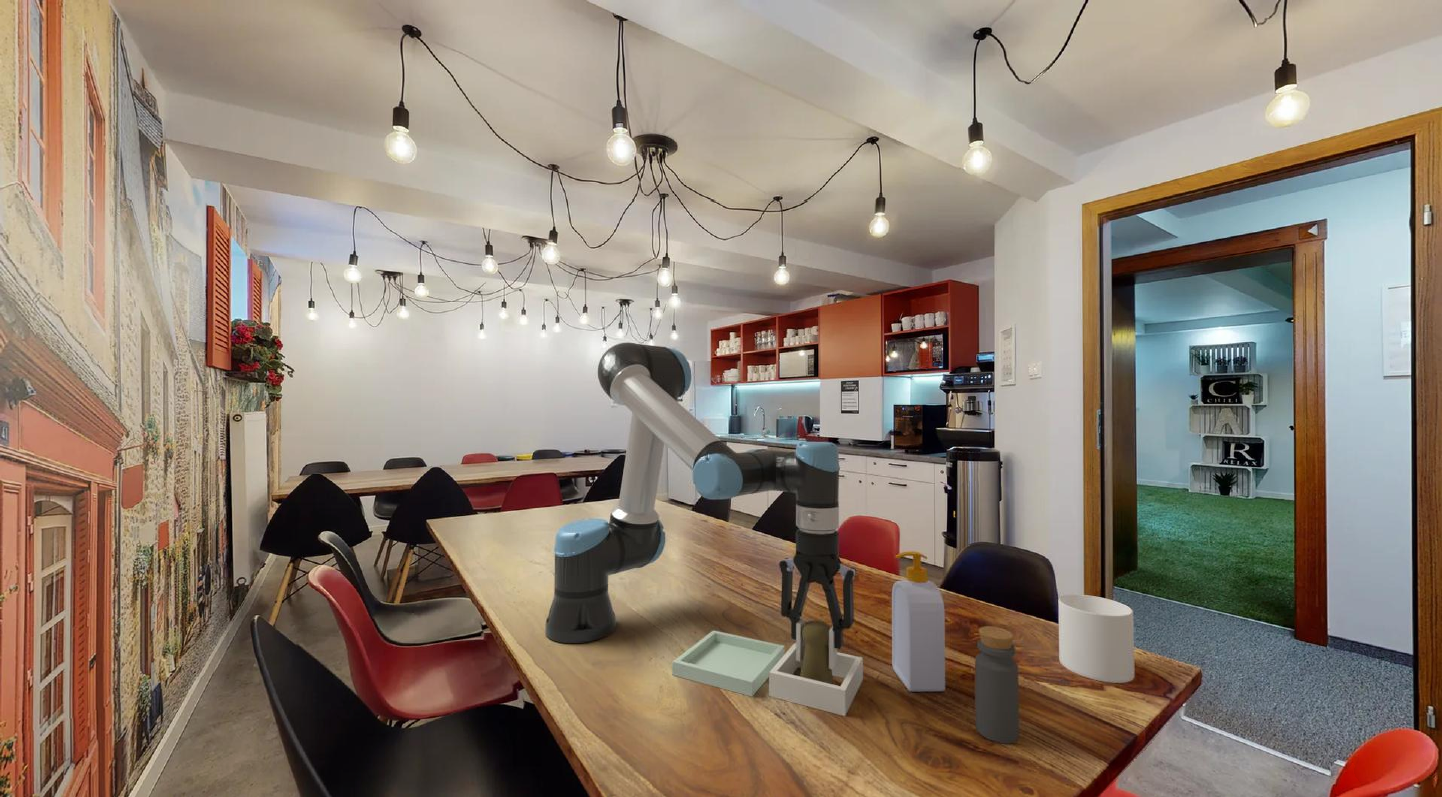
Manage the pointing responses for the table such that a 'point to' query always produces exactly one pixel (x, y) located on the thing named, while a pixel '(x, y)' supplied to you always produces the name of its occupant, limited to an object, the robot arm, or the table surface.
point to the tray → (729, 662)
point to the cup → (1096, 638)
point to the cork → (816, 652)
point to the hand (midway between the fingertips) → (816, 661)
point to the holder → (817, 683)
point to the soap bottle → (918, 629)
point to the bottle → (996, 686)
